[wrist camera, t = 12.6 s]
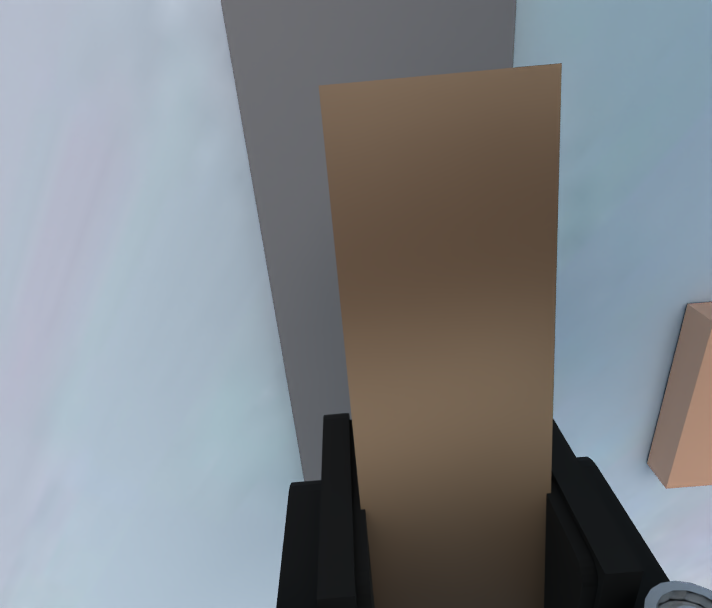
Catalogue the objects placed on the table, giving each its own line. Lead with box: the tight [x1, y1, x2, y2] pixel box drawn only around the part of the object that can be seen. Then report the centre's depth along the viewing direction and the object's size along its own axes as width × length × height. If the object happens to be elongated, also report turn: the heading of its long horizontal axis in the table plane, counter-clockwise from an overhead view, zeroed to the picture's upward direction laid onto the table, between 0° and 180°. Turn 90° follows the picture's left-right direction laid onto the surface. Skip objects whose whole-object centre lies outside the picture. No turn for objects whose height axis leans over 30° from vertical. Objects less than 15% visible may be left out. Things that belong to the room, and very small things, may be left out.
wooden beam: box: [319, 63, 562, 608], centre depth 11 cm, size 18×6×4 cm, turn 4°
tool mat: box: [221, 0, 516, 481], centre depth 22 cm, size 24×10×1 cm, turn 5°
